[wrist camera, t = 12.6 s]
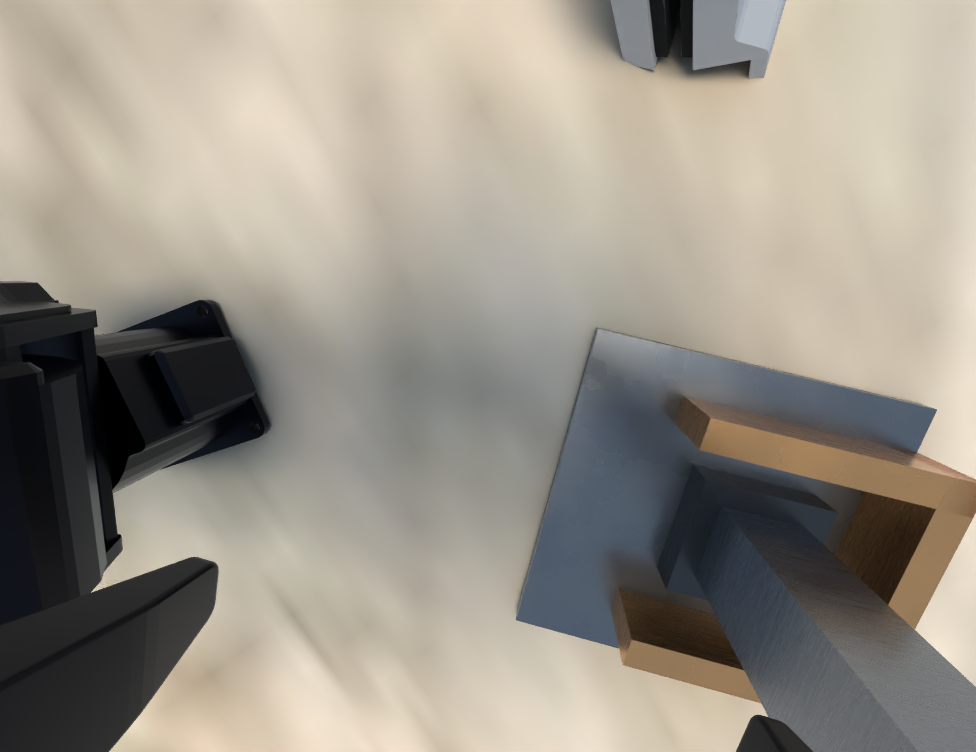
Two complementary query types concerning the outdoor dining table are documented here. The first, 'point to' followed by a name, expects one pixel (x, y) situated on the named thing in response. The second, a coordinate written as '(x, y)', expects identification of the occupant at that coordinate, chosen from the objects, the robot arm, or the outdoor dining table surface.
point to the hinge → (699, 31)
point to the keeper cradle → (737, 450)
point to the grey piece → (811, 622)
